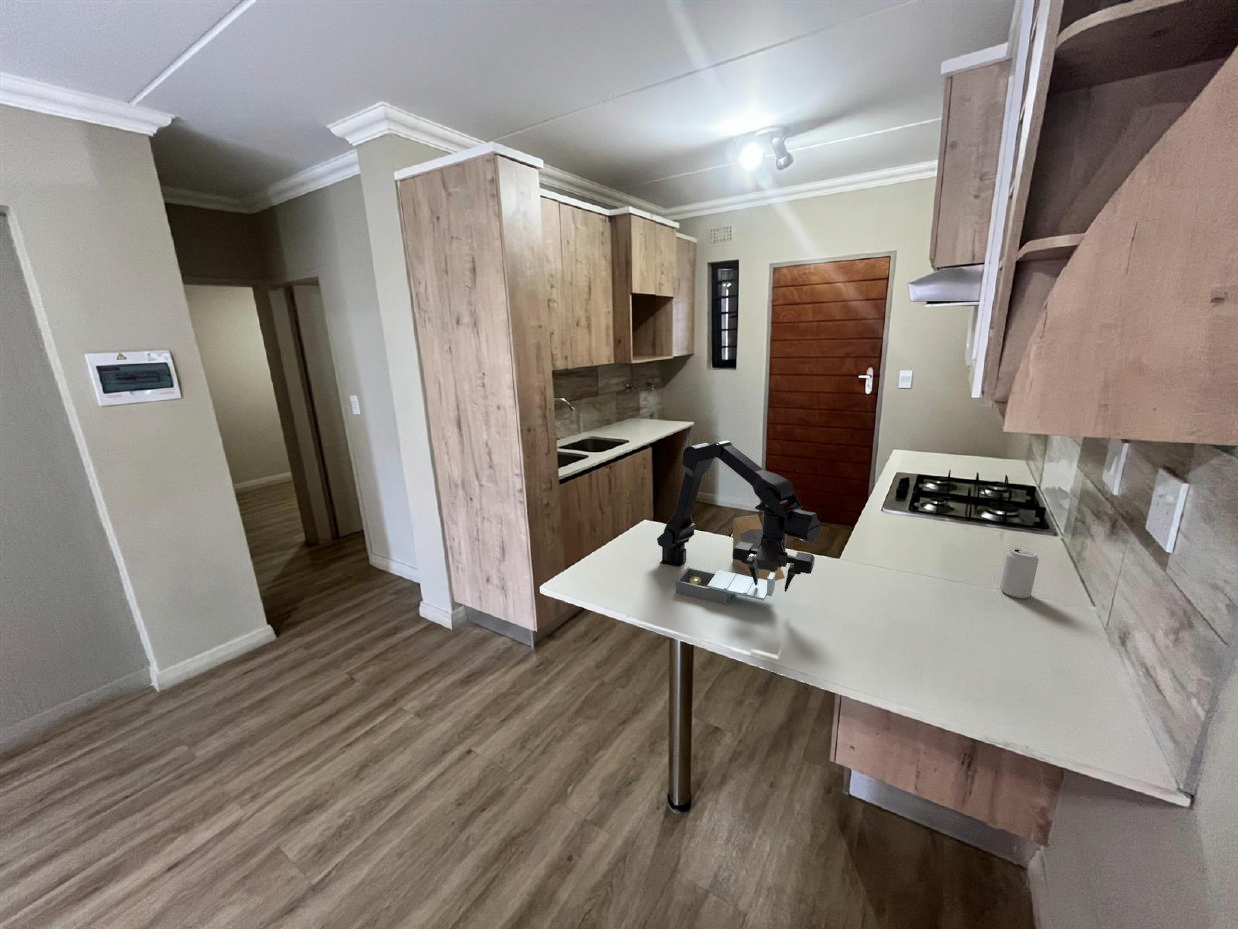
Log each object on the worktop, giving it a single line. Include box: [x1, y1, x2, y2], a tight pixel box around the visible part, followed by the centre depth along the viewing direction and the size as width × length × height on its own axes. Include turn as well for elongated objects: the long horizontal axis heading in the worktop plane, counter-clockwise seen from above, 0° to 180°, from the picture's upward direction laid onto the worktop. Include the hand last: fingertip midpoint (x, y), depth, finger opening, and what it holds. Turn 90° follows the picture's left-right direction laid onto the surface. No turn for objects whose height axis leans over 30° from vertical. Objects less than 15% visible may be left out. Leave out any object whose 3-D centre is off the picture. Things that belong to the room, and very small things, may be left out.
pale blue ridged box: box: [707, 569, 776, 602], centre depth 124 cm, size 16×9×5 cm, turn 61°
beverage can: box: [999, 546, 1040, 599], centre depth 124 cm, size 6×6×12 cm
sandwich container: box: [732, 514, 786, 581], centre depth 139 cm, size 9×15×15 cm, turn 20°
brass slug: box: [690, 577, 701, 586], centre depth 131 cm, size 3×3×3 cm
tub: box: [675, 566, 734, 606], centre depth 130 cm, size 14×9×4 cm, turn 61°
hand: (770, 587), depth 121 cm, fingers open, 7 cm apart
